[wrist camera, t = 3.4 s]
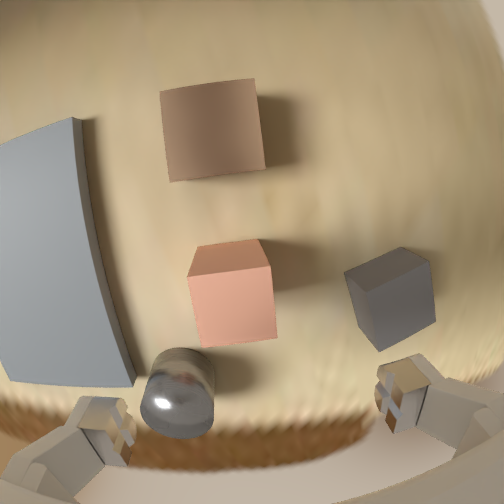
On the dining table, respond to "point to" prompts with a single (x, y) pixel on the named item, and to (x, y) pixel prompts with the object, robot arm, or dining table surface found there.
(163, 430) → the dark metal cylinder
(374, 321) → the charcoal rubber cube
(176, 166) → the walnut block
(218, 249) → the terracotta block
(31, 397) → the dining table surface
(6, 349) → the slate board
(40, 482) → the robot arm
